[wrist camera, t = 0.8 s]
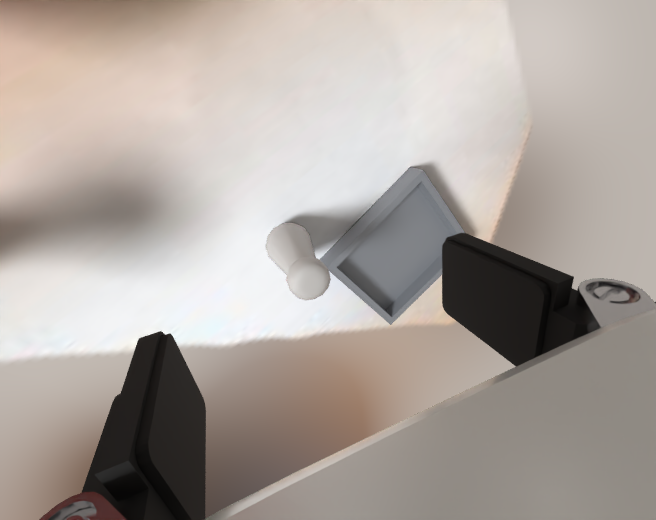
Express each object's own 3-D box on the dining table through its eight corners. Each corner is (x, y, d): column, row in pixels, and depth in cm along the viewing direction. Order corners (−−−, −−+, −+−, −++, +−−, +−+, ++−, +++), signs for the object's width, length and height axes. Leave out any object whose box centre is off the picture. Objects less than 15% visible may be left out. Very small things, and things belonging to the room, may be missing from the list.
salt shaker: (295, 209, 40) (327, 246, 29) (313, 245, 43) (348, 290, 32) (254, 231, 40) (271, 276, 28) (275, 266, 42) (298, 319, 31)
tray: (410, 166, 43) (423, 169, 40) (459, 237, 51) (472, 244, 49) (319, 259, 44) (326, 268, 42) (381, 314, 52) (390, 324, 50)
